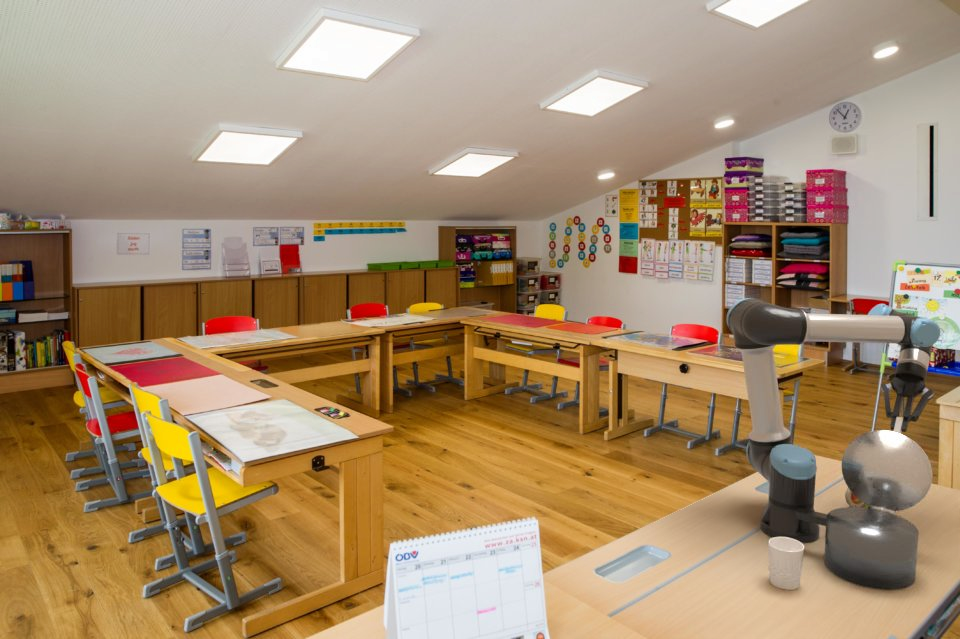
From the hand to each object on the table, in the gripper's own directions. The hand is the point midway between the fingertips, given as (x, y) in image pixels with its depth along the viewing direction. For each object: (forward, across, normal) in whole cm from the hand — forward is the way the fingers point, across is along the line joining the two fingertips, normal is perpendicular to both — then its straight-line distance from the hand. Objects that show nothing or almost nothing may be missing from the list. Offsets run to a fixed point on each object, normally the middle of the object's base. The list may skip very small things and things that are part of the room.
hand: (895, 440), depth 190 cm
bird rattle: (+8, +11, -32) cm, 35 cm away
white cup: (+50, +15, +10) cm, 53 cm away
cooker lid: (+11, 0, +3) cm, 12 cm away
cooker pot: (+35, +4, -4) cm, 36 cm away
